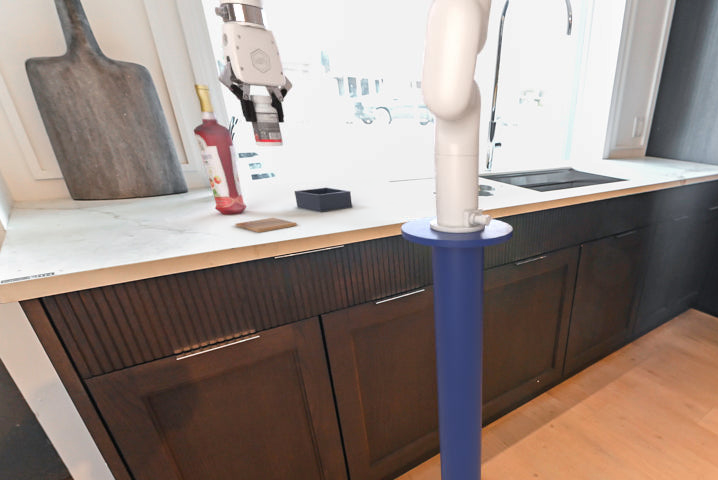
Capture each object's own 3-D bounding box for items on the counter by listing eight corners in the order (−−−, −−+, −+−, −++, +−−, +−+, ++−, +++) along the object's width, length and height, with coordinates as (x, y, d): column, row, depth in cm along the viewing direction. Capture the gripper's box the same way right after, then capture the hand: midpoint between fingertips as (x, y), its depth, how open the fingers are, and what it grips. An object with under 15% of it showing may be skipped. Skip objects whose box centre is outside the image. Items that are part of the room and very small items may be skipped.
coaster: (296, 225, 97) (296, 222, 97) (258, 232, 90) (258, 229, 90) (273, 220, 101) (273, 217, 101) (235, 226, 94) (235, 223, 94)
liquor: (254, 212, 109) (226, 86, 96) (224, 216, 103) (191, 83, 91) (239, 209, 112) (210, 86, 100) (209, 212, 107) (175, 84, 94)
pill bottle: (257, 145, 95) (246, 95, 91) (283, 145, 97) (274, 96, 93) (255, 146, 91) (244, 94, 87) (283, 146, 93) (274, 95, 89)
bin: (352, 207, 119) (350, 191, 118) (321, 212, 112) (318, 195, 110) (328, 202, 124) (326, 187, 122) (297, 207, 117) (294, 191, 115)
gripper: (208, 8, 76) (233, 121, 84) (296, 26, 89) (311, 123, 97) (188, 12, 79) (214, 121, 87) (275, 29, 92) (291, 122, 100)
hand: (265, 121), depth 92 cm, fingers closed on pill bottle, 5 cm apart
